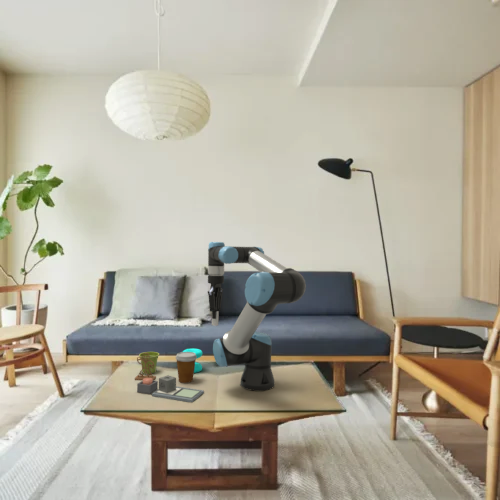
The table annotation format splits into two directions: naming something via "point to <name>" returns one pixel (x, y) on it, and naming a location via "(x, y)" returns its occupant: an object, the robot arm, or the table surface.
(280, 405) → the table surface
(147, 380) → the button
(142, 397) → the table surface
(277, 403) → the table surface
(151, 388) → the button housing
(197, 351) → the donuts
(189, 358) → the disposable coffee cup
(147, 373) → the brown scrollwork sculpture
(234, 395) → the table surface
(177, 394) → the picture board
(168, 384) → the dice cube
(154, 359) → the plant pot
